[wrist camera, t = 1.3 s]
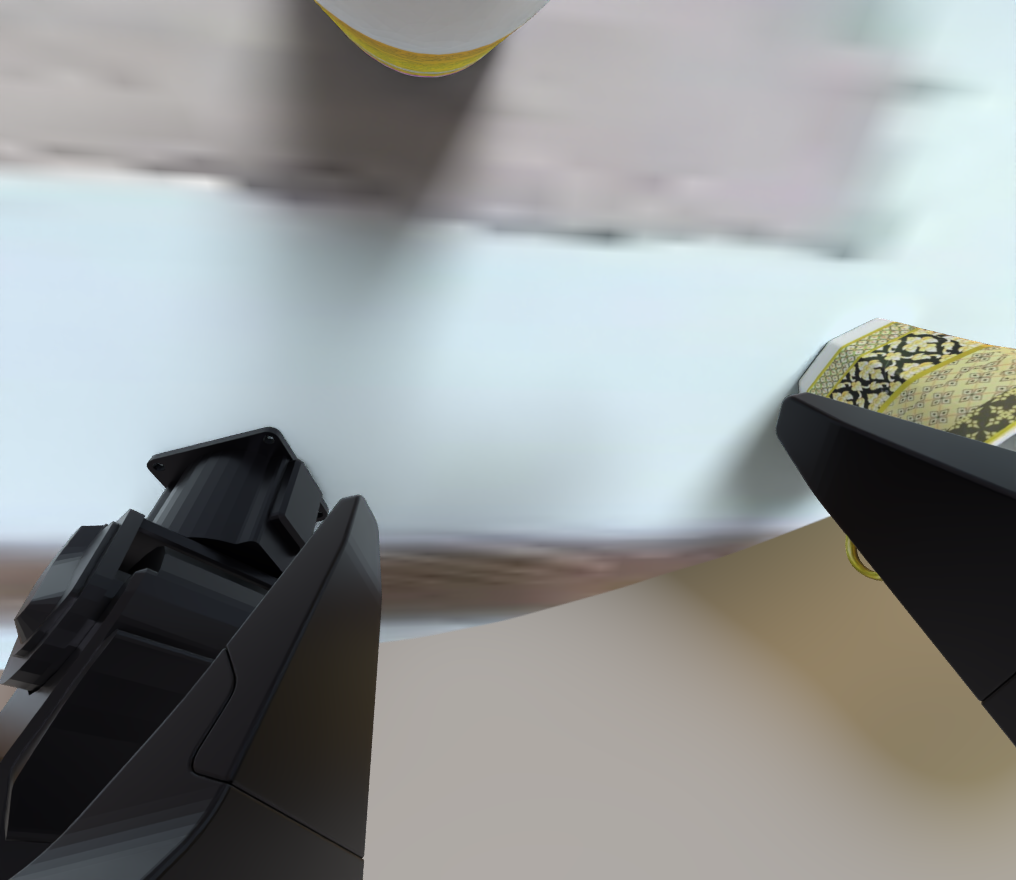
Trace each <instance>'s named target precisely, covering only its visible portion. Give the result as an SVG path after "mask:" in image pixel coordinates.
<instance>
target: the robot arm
mask: <svg viewBox="0 0 1016 880" xmlns="http://www.w3.org/2000/svg"><path fill="white" fill-rule="evenodd" d="M776 434H777V437H778V439H779V441H780V442H781V444H782V445H783V447H784V448H785V450H786V452H787V453H788V455H789V456H790V458H791V459H792V461H793V463H794V464H795V466H796V467H797V469H798V470H799V472H800V474H801V475H802V477H803V478H804V480H805V481H806V483H807V485H808V486H809V488H810V489H811V490H812V492H813V493H814V495H815V496H816V498H817V499H818V500H819V501H820V503H821V504H822V505H823V507H824V508H825V509H826V510H827V512H828V513H829V514H830V515H831V517H832V518H833V519H834V520H835V522H836V523H837V524H838V525H839V527H840V528H841V529H842V530H843V532H844V533H845V534H846V535H847V537H848V538H849V539H850V540H851V542H852V543H853V544H854V545H855V547H856V548H857V549H858V550H859V551H860V553H861V554H862V555H863V556H864V558H865V559H866V560H867V561H868V563H869V564H870V565H871V566H872V568H873V569H874V570H875V571H876V573H877V574H878V575H879V576H880V578H881V579H882V580H883V581H884V583H885V584H886V585H887V586H888V588H889V589H890V590H891V591H892V593H893V594H894V595H895V596H896V598H897V599H898V600H899V601H900V603H901V604H902V605H903V606H904V608H905V609H906V610H907V611H908V613H909V614H910V615H911V616H912V618H913V619H914V620H915V621H916V623H917V624H918V625H919V626H920V627H921V629H922V630H923V631H924V633H925V634H926V635H927V636H928V638H929V639H930V640H931V641H932V643H933V644H934V645H935V646H936V647H937V649H938V650H939V651H940V652H941V654H942V655H943V656H944V657H945V659H946V660H947V661H948V662H949V664H950V665H951V666H952V667H953V669H954V670H955V671H956V672H957V674H958V675H959V676H960V677H961V679H962V680H963V681H964V682H965V684H966V685H967V686H968V687H969V689H970V690H971V691H972V692H973V694H974V695H975V696H976V697H977V699H978V700H979V701H982V702H981V704H982V705H983V707H984V708H985V709H986V710H987V711H988V713H989V714H990V715H991V716H992V718H993V719H994V720H995V721H996V723H997V724H998V725H999V727H1000V728H1001V729H1002V730H1003V731H1004V733H1005V734H1006V735H1007V736H1008V738H1009V739H1010V740H1011V741H1012V743H1013V744H1014V745H1015V747H1016V451H1012V450H1009V449H1005V448H1002V447H998V446H995V445H991V444H988V443H984V442H981V441H977V440H974V439H970V438H967V437H963V436H960V435H956V434H953V433H949V432H946V431H942V430H939V429H935V428H932V427H928V426H925V425H921V424H918V423H914V422H911V421H907V420H904V419H900V418H897V417H893V416H890V415H886V414H883V413H879V412H876V411H872V410H869V409H865V408H862V407H858V406H855V405H851V404H848V403H844V402H841V401H837V400H834V399H830V398H827V397H823V396H820V395H816V394H813V393H809V392H802V393H798V394H793V395H789V396H787V397H786V398H785V399H784V400H783V402H782V405H781V409H780V413H779V417H778V421H777V424H776ZM266 436H271V437H273V438H274V439H268V438H267V437H266ZM158 463H159V464H162V465H164V466H161V465H159V464H158ZM147 467H148V469H149V470H150V471H151V473H152V474H153V475H154V476H155V477H156V478H157V479H158V480H159V481H160V482H161V483H162V484H163V486H164V487H165V488H166V489H165V491H164V492H163V494H162V495H161V497H160V499H159V500H158V502H157V503H156V505H155V506H154V508H153V509H152V511H151V512H150V514H149V516H148V517H147V519H145V518H144V517H145V515H143V514H141V513H139V512H136V511H134V510H132V509H129V510H128V511H127V512H126V513H125V514H124V515H123V516H122V517H121V518H120V519H119V520H118V521H117V522H114V521H113V522H111V523H110V524H109V525H108V524H105V525H102V526H81V527H80V528H79V529H78V530H77V531H76V532H75V533H74V534H73V535H72V536H71V537H70V539H69V540H68V541H67V542H66V544H65V545H64V546H63V548H62V549H61V550H60V551H59V553H58V554H57V555H56V556H55V558H54V559H53V560H52V561H51V563H50V564H49V565H48V567H47V568H46V569H45V571H44V572H43V573H42V575H41V576H40V578H39V579H38V581H37V582H36V584H35V586H34V587H33V589H32V591H31V592H30V594H29V596H28V597H27V599H26V601H25V602H24V604H23V606H22V607H21V609H20V611H19V612H18V614H17V616H16V617H15V619H14V621H15V625H16V629H17V633H18V638H17V640H16V643H15V645H14V647H13V650H12V652H11V655H10V657H9V660H8V662H7V665H6V667H5V669H4V672H3V675H2V677H1V679H0V684H2V685H7V686H11V687H16V688H17V690H16V691H15V692H14V694H13V695H12V697H11V698H10V699H9V701H8V702H7V704H6V705H5V706H4V708H3V709H2V711H1V712H0V880H363V868H364V860H363V859H362V858H363V857H364V850H365V835H366V821H367V806H368V792H369V776H370V764H371V763H370V762H371V748H372V735H373V720H374V706H375V692H376V677H377V663H378V647H379V634H380V620H381V603H382V589H381V569H380V550H379V531H378V525H377V522H376V519H375V517H374V516H373V514H372V512H371V510H370V508H369V506H368V504H367V502H366V500H365V498H364V497H363V496H362V495H354V496H350V497H345V498H342V499H341V500H340V501H339V502H338V503H337V504H336V506H335V507H334V508H333V509H332V511H331V512H330V513H329V515H328V511H329V509H328V507H327V505H326V503H325V502H324V500H323V499H322V492H321V490H320V489H319V487H318V486H317V484H316V483H315V481H314V479H313V478H312V476H311V475H310V473H309V471H308V470H307V468H306V467H305V465H304V463H303V462H302V461H300V460H299V459H297V458H296V456H295V454H294V453H293V451H292V450H291V448H290V447H289V445H288V443H287V442H286V440H285V439H284V437H283V435H282V434H281V432H280V431H279V430H277V429H275V428H273V427H265V428H261V429H257V430H253V431H249V432H245V433H241V434H237V435H233V436H229V437H225V438H221V439H217V440H213V441H209V442H205V443H200V444H196V445H192V446H188V447H184V448H180V449H176V450H172V451H168V452H164V453H160V454H156V455H154V456H152V458H151V459H150V460H149V462H148V463H147ZM318 511H319V512H322V513H318ZM324 519H325V520H324ZM322 520H324V521H323V522H322V523H321V525H320V526H319V527H318V529H317V530H316V531H315V532H314V527H315V523H316V522H318V521H322ZM313 532H314V534H313Z"/></svg>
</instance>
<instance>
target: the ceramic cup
mask: <svg viewBox="0 0 1016 880" xmlns="http://www.w3.org/2000/svg"><path fill="white" fill-rule="evenodd" d="M802 392H809V393H813V394H816V395H820V396H823V397H827V398H830V399H834V400H837V401H841V402H844V403H848V404H851V405H855V406H858V407H862V408H865V409H869V410H872V411H876V412H879V413H883V414H886V415H890V416H893V417H897V418H900V419H904V420H907V421H911V422H914V423H918V424H921V425H925V426H928V427H932V428H935V429H939V430H942V431H946V432H949V433H953V434H956V435H960V436H963V437H967V438H970V439H974V440H977V441H981V442H984V443H988V444H991V445H995V446H998V447H1002V448H1005V449H1009V450H1012V451H1016V349H1013V348H1007V347H1000V346H993V345H988V344H984V343H980V342H976V341H972V340H967V339H963V338H959V337H955V336H951V335H946V334H942V333H938V332H934V331H930V330H926V329H921V328H918V327H914V326H910V325H907V324H903V323H899V322H893V321H890V320H886V319H879V318H876V319H873V320H871V321H869V322H867V323H865V324H863V325H861V326H859V327H857V328H855V329H853V330H851V331H849V332H847V333H844V334H842V335H840V336H838V337H836V338H834V339H832V340H830V341H829V342H828V343H827V345H826V346H825V347H824V348H823V350H822V351H821V352H820V354H819V355H818V356H817V358H816V359H815V360H814V362H813V363H812V364H811V366H810V367H809V368H808V370H807V371H806V372H805V373H804V375H803V376H802V377H801V379H800V380H799V393H802ZM845 546H846V552H847V556H848V559H849V561H850V563H851V564H852V566H853V567H854V568H855V569H856V570H857V571H858V572H860V573H861V574H863V575H865V576H866V577H869V578H871V579H874V580H879V581H883V580H882V579H881V578H880V576H879V575H878V574H877V573H876V572H874V571H871V570H869V569H868V568H866V567H865V566H864V565H863V564H862V562H861V561H860V559H859V557H858V554H857V548H856V547H855V545H854V544H853V543H852V542H851V540H850V539H849V538H848V537H847V535H846V543H845Z"/></svg>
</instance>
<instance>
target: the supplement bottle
mask: <svg viewBox="0 0 1016 880" xmlns="http://www.w3.org/2000/svg"><path fill="white" fill-rule="evenodd" d="M314 1H315V2H316V3H317V4H318V5H319V6H320V7H321V9H322V10H323V11H324V12H325V13H326V14H327V15H328V16H329V17H330V18H331V19H332V20H333V21H334V22H335V23H336V24H337V26H338V27H339V28H340V29H341V30H342V31H343V32H344V33H345V34H346V36H347V37H348V38H349V39H351V40H352V41H353V42H354V43H355V44H356V45H357V46H358V47H359V48H360V49H362V50H363V51H364V52H365V53H367V54H368V55H369V56H371V57H372V58H373V59H375V60H376V61H378V62H380V63H381V64H383V65H385V66H386V67H389V68H391V69H393V70H395V71H398V72H400V73H403V74H407V75H411V76H416V77H441V76H446V75H450V74H454V73H456V72H459V71H461V70H464V69H465V68H467V67H469V66H471V65H472V64H474V63H475V62H477V61H478V60H479V59H481V58H482V57H483V56H485V55H486V54H487V53H488V52H489V51H491V50H492V49H493V48H494V47H495V46H497V45H498V44H499V43H500V42H502V41H503V40H504V39H505V38H506V37H508V36H509V35H510V34H512V33H513V32H514V31H516V30H517V29H518V28H520V27H521V26H522V25H524V24H525V23H526V22H527V21H528V20H530V19H531V18H532V17H533V16H534V15H535V14H536V13H537V12H538V11H539V10H540V9H541V8H542V7H544V6H545V5H546V4H547V3H548V2H549V0H314Z"/></svg>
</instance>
